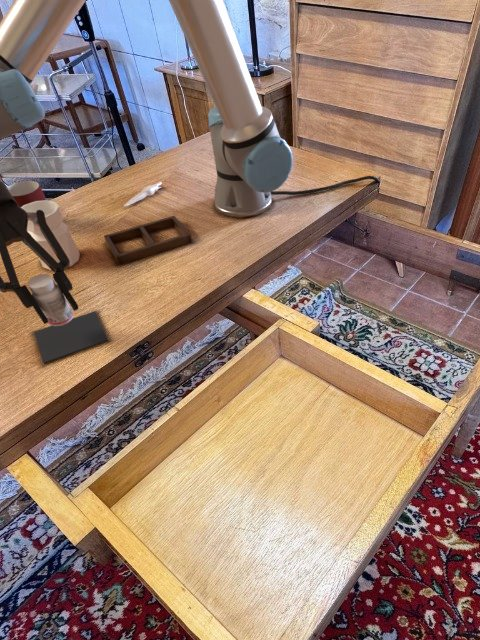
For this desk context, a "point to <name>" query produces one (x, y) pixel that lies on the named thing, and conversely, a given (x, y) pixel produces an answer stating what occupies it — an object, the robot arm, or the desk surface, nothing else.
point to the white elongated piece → (144, 193)
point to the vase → (57, 228)
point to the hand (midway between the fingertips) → (61, 314)
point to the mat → (70, 337)
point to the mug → (26, 192)
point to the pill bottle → (50, 300)
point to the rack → (147, 239)
